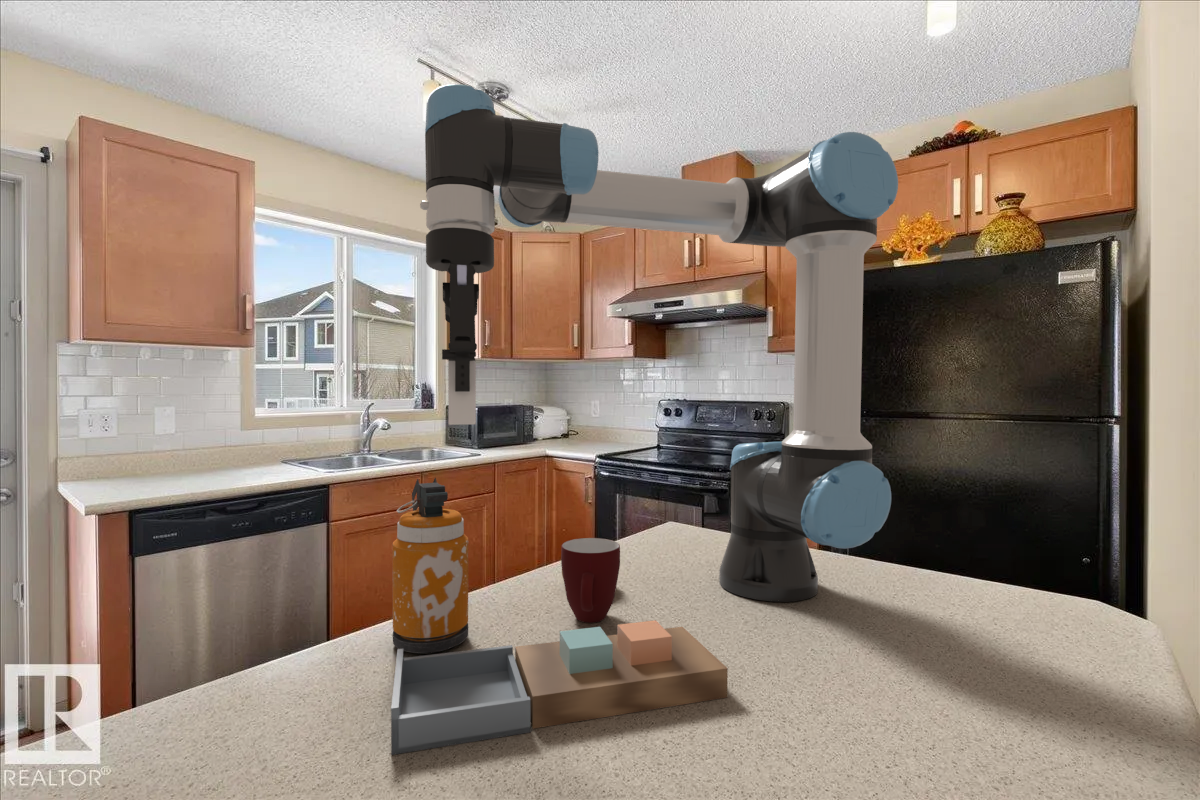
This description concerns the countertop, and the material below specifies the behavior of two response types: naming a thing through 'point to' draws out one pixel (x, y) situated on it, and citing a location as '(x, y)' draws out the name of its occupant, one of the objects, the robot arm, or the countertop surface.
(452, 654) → the box
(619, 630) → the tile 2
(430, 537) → the canister
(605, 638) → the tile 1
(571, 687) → the tan wooden flat box
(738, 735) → the countertop surface
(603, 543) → the mug
